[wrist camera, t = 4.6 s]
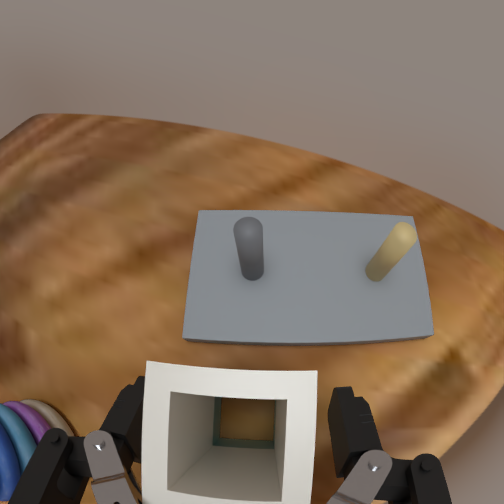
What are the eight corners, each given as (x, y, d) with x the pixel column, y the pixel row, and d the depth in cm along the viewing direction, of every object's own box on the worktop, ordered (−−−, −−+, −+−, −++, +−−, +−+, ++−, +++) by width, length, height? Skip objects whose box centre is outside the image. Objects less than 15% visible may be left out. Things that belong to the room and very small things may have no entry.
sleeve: (206, 447, 14) (142, 504, 5) (209, 375, 16) (146, 360, 8) (285, 452, 14) (308, 521, 5) (288, 378, 16) (317, 370, 7)
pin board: (187, 340, 18) (152, 318, 12) (202, 219, 21) (182, 162, 16) (425, 338, 17) (479, 314, 11) (406, 224, 21) (440, 174, 15)
